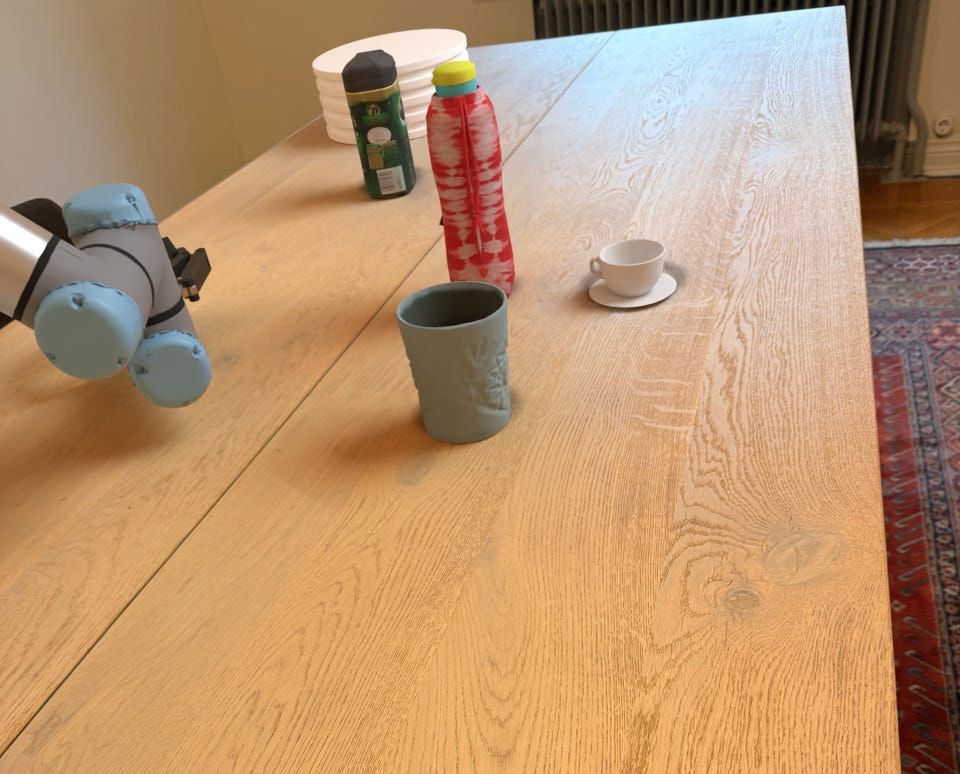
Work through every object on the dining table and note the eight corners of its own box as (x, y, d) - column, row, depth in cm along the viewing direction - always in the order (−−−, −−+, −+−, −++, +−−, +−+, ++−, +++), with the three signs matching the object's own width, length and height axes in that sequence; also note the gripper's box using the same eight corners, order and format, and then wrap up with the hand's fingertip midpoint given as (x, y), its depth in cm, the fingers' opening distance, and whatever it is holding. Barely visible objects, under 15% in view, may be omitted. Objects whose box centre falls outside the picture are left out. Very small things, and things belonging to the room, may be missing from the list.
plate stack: (302, 148, 171) (285, 77, 163) (363, 101, 189) (350, 35, 182) (445, 141, 162) (433, 65, 154) (494, 92, 180) (486, 23, 173)
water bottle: (448, 281, 118) (410, 54, 101) (511, 270, 118) (483, 41, 101) (454, 321, 109) (414, 80, 92) (522, 310, 109) (494, 66, 92)
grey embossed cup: (399, 425, 94) (374, 310, 86) (476, 383, 98) (458, 270, 90) (463, 459, 88) (441, 339, 80) (542, 413, 92) (529, 294, 84)
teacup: (686, 275, 110) (687, 235, 106) (661, 314, 103) (661, 272, 100) (605, 272, 114) (603, 232, 110) (576, 308, 107) (573, 268, 104)
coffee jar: (371, 182, 151) (343, 50, 139) (419, 175, 150) (395, 42, 138) (363, 203, 144) (334, 66, 132) (414, 196, 143) (389, 57, 131)
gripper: (45, 392, 100) (27, 324, 115) (266, 320, 106) (221, 264, 121) (12, 325, 95) (-3, 263, 110) (246, 254, 101) (201, 204, 115)
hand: (114, 264), depth 115 cm, fingers open, 13 cm apart
